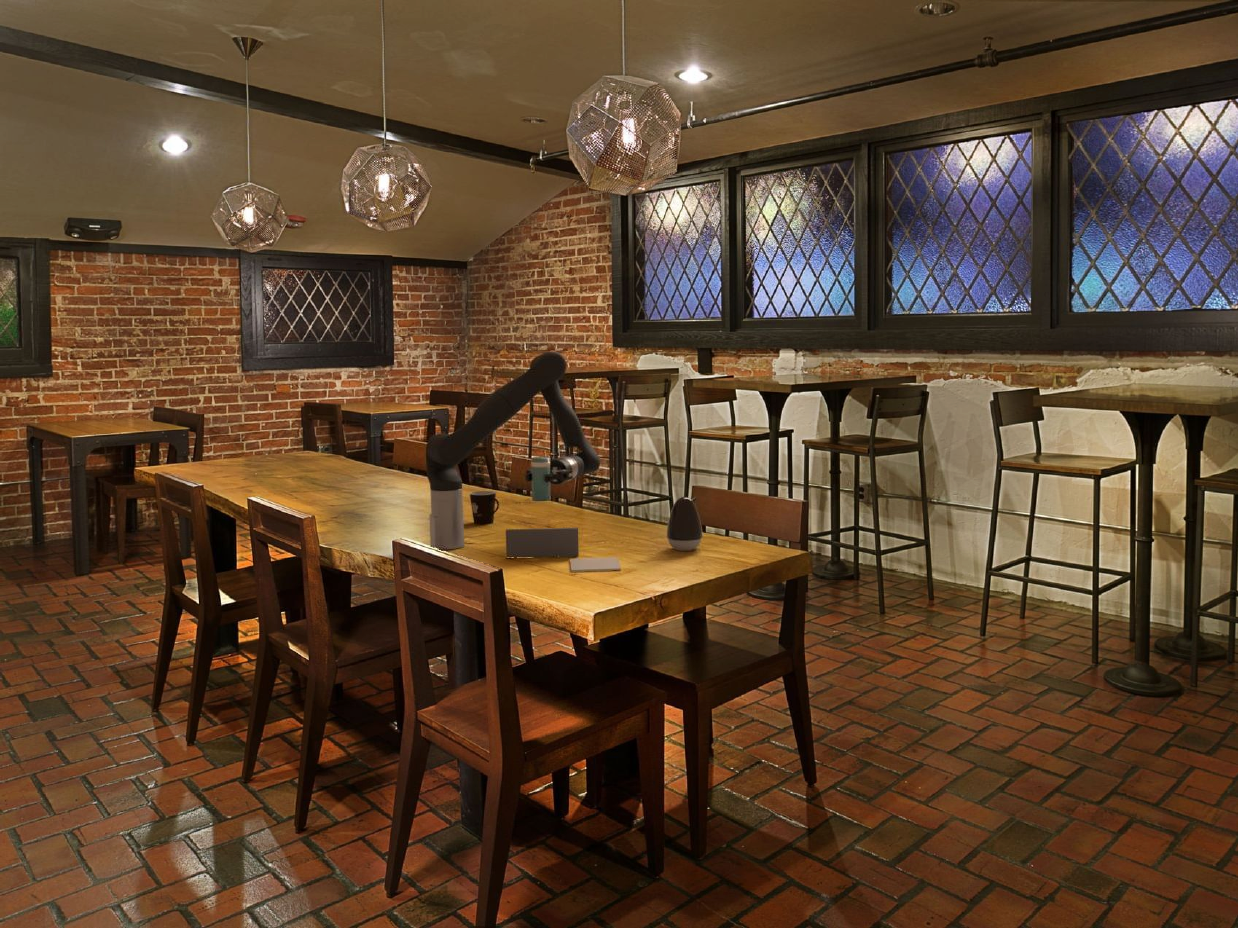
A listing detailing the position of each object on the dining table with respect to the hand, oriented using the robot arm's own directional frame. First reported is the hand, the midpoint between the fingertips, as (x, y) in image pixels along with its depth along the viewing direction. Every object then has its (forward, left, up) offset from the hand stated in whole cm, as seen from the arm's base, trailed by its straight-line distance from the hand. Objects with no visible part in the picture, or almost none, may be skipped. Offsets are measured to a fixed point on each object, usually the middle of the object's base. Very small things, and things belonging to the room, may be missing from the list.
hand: (536, 478), depth 278 cm
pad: (+9, -21, -22) cm, 31 cm away
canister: (+2, +2, -7) cm, 7 cm away
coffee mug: (-1, +51, -22) cm, 56 cm away
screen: (-1, -5, -22) cm, 22 cm away
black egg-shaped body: (+39, -14, -22) cm, 47 cm away
